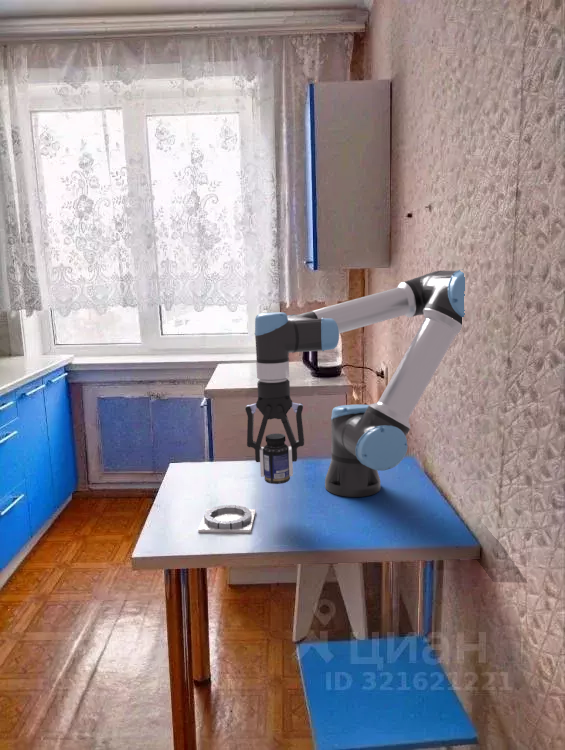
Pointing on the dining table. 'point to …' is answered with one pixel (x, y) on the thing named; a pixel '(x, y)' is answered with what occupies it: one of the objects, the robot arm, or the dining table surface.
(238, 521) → the hub plate
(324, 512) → the dining table surface
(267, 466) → the pill bottle
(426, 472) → the dining table surface
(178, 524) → the dining table surface
